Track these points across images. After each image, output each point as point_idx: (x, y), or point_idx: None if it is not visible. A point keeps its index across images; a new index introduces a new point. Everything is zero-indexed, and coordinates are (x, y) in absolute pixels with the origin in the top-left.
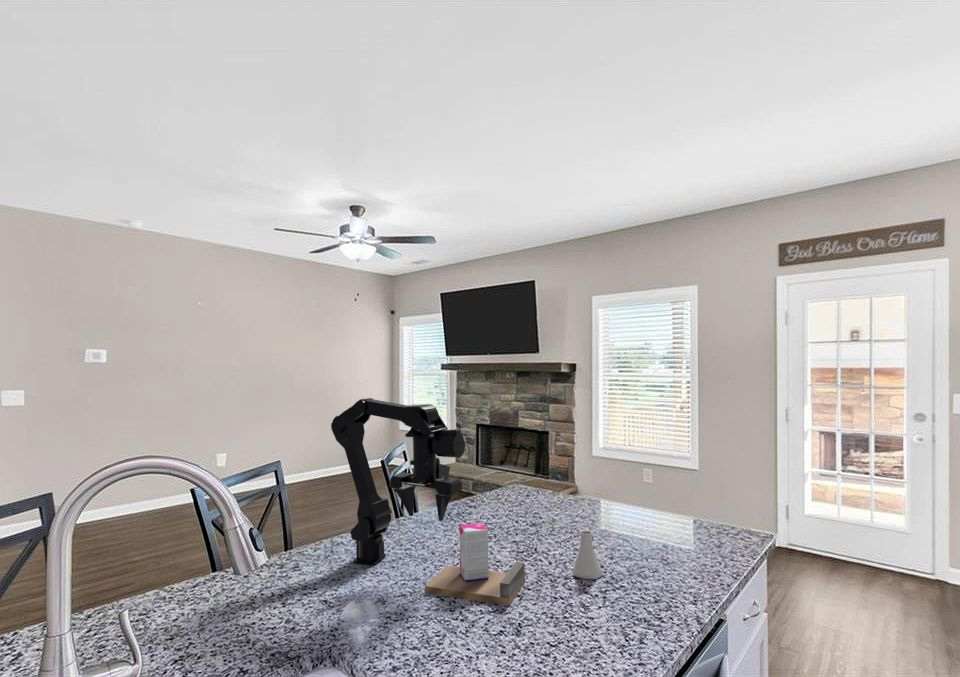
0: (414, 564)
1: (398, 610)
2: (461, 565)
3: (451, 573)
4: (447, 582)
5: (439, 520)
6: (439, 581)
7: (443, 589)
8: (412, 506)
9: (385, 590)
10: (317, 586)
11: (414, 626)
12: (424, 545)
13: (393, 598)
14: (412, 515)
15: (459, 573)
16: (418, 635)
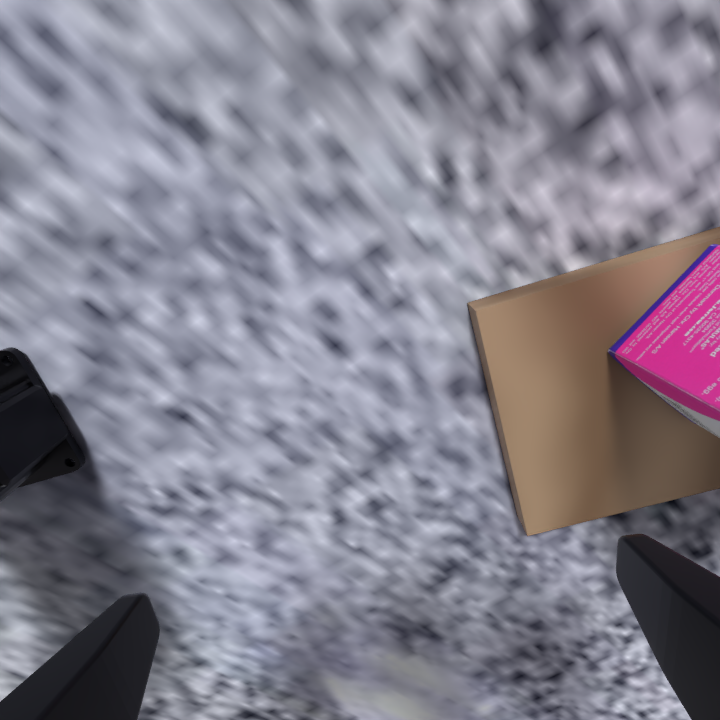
0: (241, 332)
1: (518, 640)
2: (683, 408)
3: (563, 376)
4: (604, 461)
5: (624, 586)
6: (560, 472)
7: (620, 511)
8: (72, 718)
9: (359, 579)
10: None
11: (633, 671)
12: (11, 38)
13: (437, 601)
14: (149, 599)
15: (604, 352)
16: None
